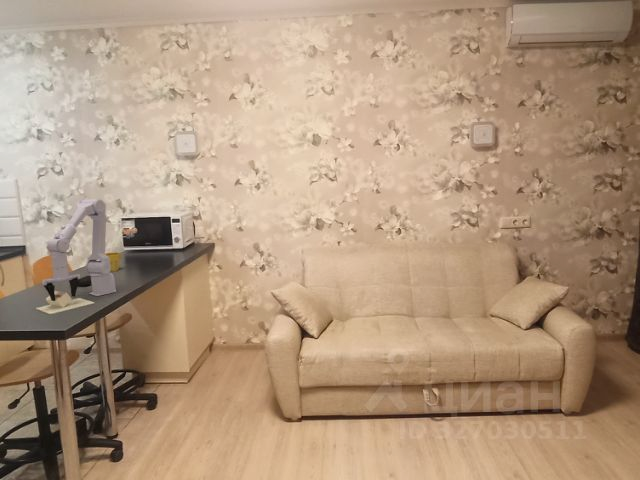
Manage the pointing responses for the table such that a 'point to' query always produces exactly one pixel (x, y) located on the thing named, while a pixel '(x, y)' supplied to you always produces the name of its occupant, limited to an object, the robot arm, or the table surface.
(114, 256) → the plant pot
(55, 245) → the robot arm
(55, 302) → the card deck box
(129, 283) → the table surface
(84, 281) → the carrying case or bag
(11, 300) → the table surface
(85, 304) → the mat
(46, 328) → the table surface
